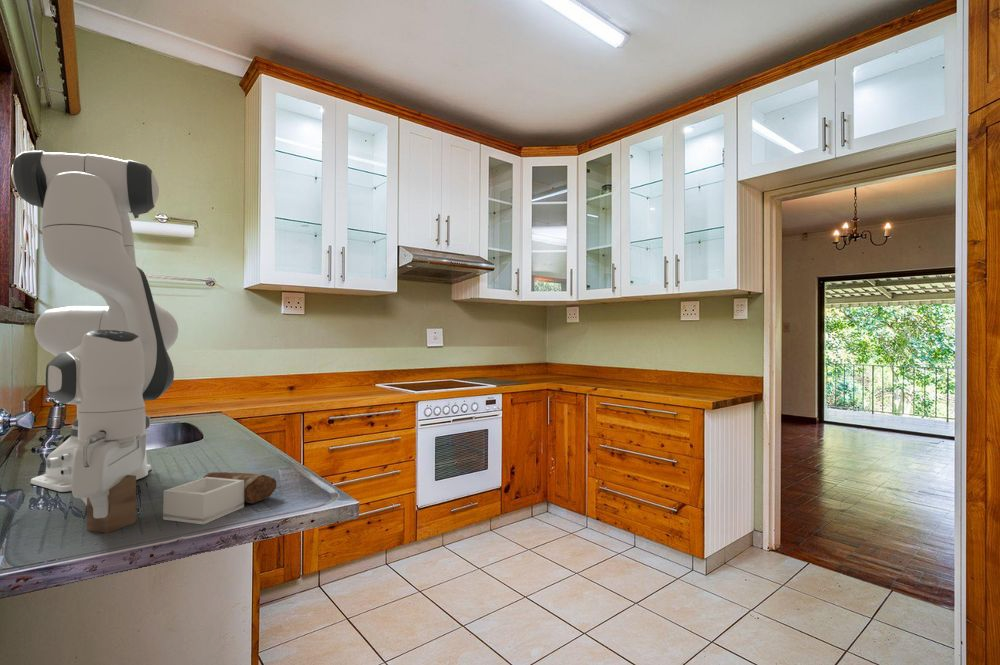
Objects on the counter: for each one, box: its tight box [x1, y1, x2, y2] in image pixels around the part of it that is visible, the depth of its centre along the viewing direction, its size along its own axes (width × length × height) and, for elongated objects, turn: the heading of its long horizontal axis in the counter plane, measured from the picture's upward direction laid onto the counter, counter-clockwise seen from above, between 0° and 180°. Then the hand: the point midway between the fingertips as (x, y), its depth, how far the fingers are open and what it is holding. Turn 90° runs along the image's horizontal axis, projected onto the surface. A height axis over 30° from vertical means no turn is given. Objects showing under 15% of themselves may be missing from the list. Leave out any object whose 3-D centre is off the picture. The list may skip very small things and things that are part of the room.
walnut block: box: [86, 475, 137, 534], centre depth 81 cm, size 5×5×8 cm
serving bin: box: [162, 477, 245, 525], centre depth 87 cm, size 9×9×5 cm
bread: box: [202, 471, 277, 504], centre depth 97 cm, size 6×19×6 cm, turn 59°
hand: (111, 508), depth 81 cm, fingers closed on walnut block, 6 cm apart
